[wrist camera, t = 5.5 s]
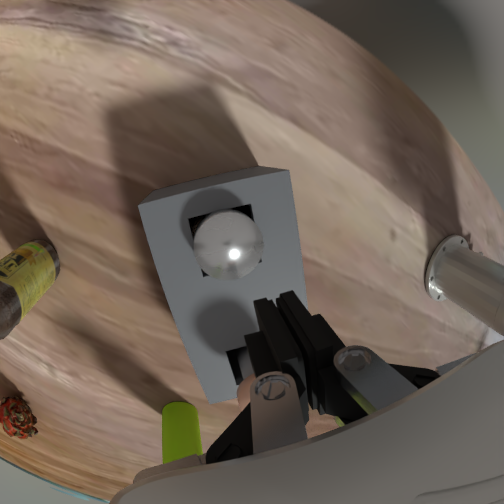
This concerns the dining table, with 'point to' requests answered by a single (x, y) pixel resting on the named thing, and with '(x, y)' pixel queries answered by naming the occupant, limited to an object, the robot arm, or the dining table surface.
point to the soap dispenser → (180, 431)
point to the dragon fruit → (17, 418)
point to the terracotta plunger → (244, 377)
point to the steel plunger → (227, 244)
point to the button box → (215, 290)
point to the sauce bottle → (25, 281)
